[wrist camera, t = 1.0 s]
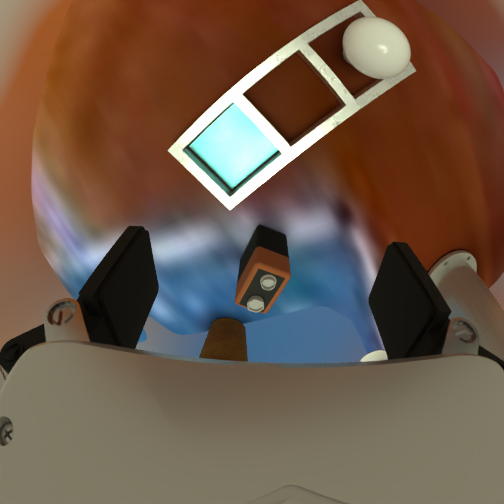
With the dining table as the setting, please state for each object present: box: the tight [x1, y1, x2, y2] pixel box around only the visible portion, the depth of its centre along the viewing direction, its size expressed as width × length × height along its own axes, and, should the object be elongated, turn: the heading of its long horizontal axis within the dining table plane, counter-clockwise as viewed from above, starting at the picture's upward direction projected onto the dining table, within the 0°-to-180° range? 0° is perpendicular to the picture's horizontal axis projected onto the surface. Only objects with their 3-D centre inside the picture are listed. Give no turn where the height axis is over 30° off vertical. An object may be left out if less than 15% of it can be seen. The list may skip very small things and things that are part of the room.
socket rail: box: [168, 0, 416, 210], centre depth 26 cm, size 10×29×2 cm, turn 132°
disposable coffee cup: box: [199, 318, 248, 362], centre depth 43 cm, size 10×10×12 cm
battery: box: [235, 225, 291, 313], centre depth 34 cm, size 4×7×10 cm, turn 157°
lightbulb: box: [342, 17, 411, 79], centre depth 19 cm, size 6×6×11 cm
